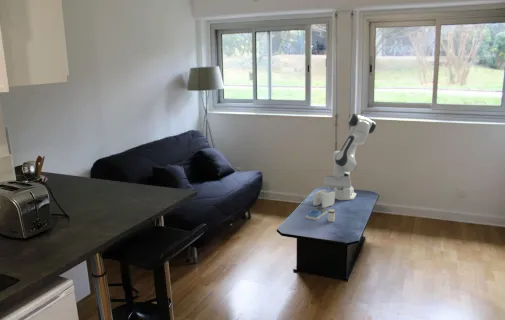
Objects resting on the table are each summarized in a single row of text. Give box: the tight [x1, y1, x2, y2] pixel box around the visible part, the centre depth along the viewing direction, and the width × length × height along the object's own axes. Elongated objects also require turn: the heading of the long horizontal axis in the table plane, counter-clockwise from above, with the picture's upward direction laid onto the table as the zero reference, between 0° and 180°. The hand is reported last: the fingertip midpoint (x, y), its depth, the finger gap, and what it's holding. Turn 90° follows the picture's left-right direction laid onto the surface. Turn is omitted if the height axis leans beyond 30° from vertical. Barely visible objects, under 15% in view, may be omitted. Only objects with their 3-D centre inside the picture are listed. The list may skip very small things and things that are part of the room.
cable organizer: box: [312, 189, 336, 209], centre depth 361 cm, size 15×11×12 cm
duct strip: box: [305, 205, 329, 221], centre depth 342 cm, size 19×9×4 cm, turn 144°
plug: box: [327, 208, 336, 222], centre depth 331 cm, size 4×4×8 cm
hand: (336, 192), depth 338 cm, fingers open, 8 cm apart
